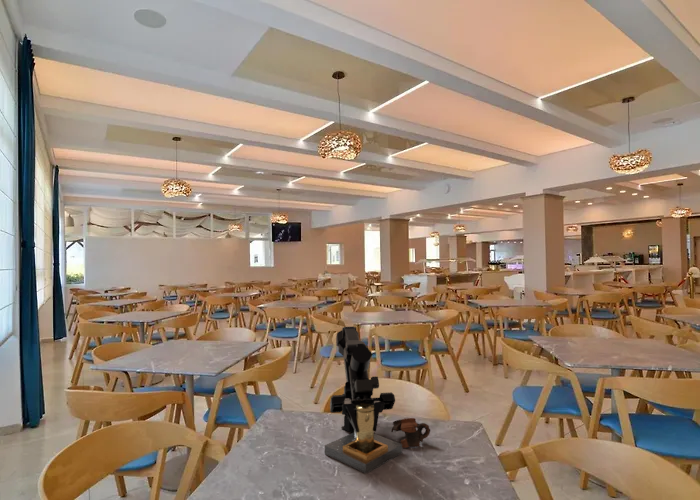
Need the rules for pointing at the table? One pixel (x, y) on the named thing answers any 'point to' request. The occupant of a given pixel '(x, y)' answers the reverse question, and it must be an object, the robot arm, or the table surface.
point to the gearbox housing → (363, 462)
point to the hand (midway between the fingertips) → (366, 431)
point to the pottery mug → (411, 431)
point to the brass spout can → (365, 427)
